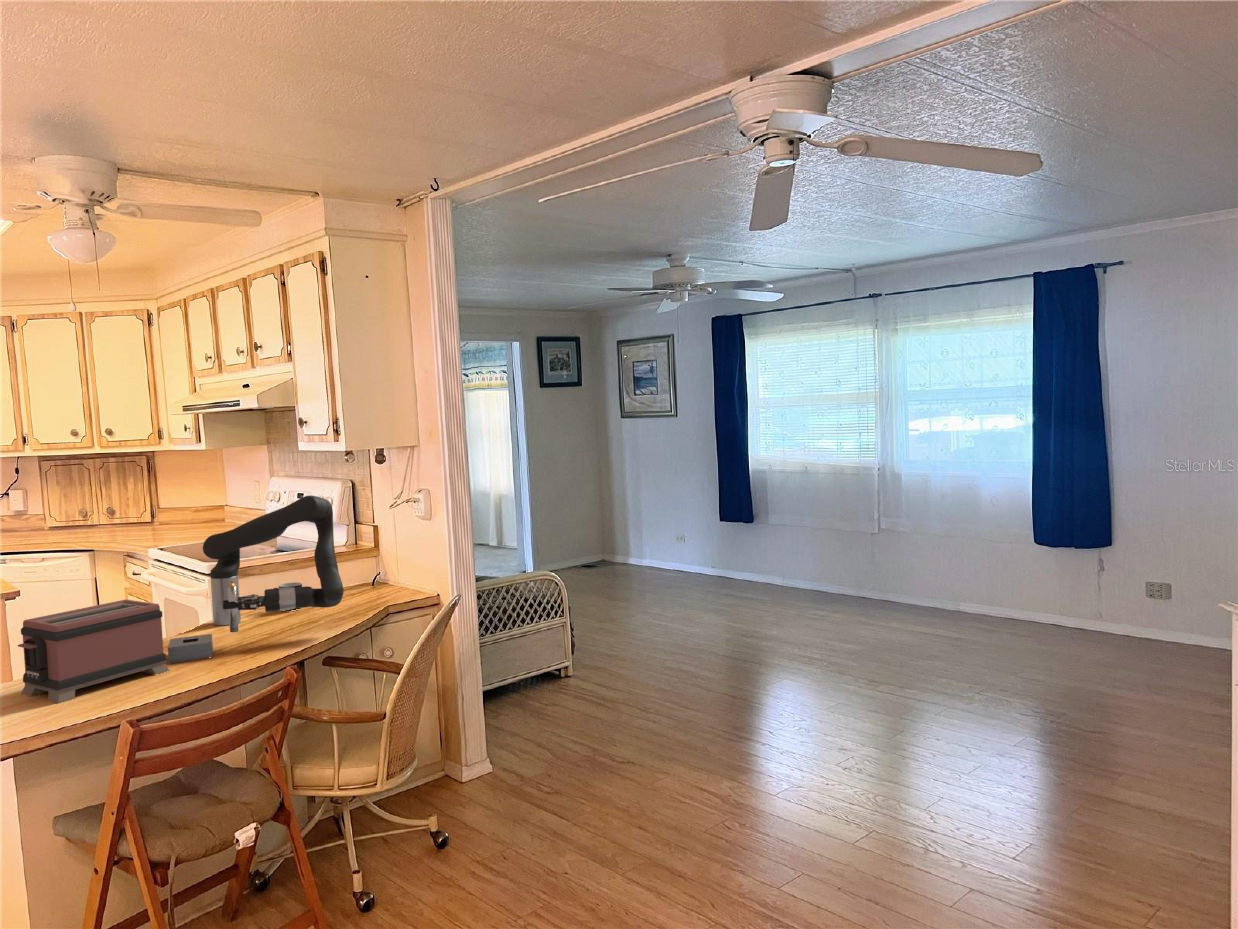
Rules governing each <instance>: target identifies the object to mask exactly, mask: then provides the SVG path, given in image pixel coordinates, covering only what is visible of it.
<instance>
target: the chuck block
mask: <svg viewBox="0 0 1238 929" xmlns="http://www.w3.org/2000/svg"><path fill="white" fill-rule="evenodd" d="M213 651H214V642H213V633H207V634H200V635H191V636H184V637H175V638H170V640H169V643H168V646H167V653H168V654H167V656H168V664H169V665H170V664H177V662H179V663H183V662H182V661H186V662H191V661H192V660H194V661H199V660H198V659H201V660H203V659H202V658H209V657H212V658H213V655H212V654H213ZM209 659H210V658H209ZM192 662H193V661H192Z"/></svg>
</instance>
